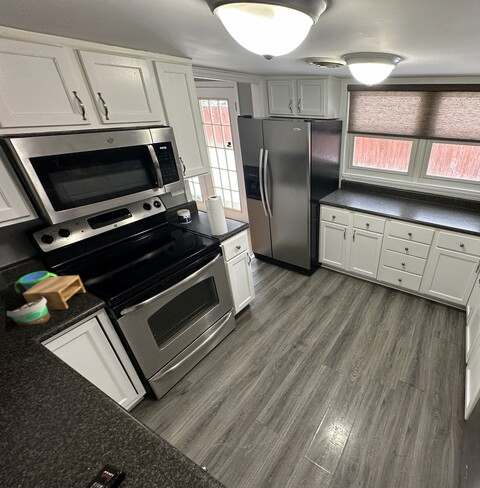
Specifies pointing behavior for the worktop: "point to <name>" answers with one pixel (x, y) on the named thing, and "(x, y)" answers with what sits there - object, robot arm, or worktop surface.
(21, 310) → the food container
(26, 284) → the snack cup
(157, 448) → the worktop surface
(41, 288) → the shelf
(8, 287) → the robot arm
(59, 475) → the worktop surface
